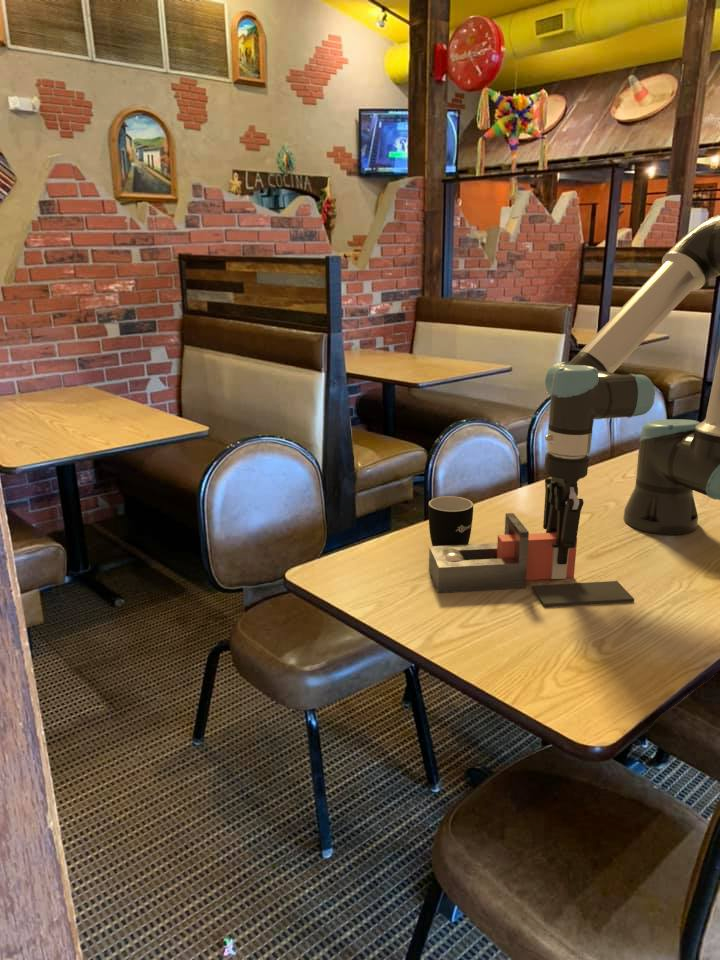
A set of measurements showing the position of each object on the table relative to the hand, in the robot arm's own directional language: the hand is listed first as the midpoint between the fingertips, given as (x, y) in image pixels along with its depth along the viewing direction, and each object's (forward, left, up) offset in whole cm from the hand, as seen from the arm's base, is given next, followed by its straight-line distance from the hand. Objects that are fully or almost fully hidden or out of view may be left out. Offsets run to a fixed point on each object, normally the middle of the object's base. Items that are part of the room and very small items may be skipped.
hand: (554, 573), depth 135 cm
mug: (+16, -15, -1) cm, 22 cm away
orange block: (+4, 0, 0) cm, 4 cm away
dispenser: (+14, 0, 0) cm, 14 cm away
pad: (-2, +8, 0) cm, 9 cm away
